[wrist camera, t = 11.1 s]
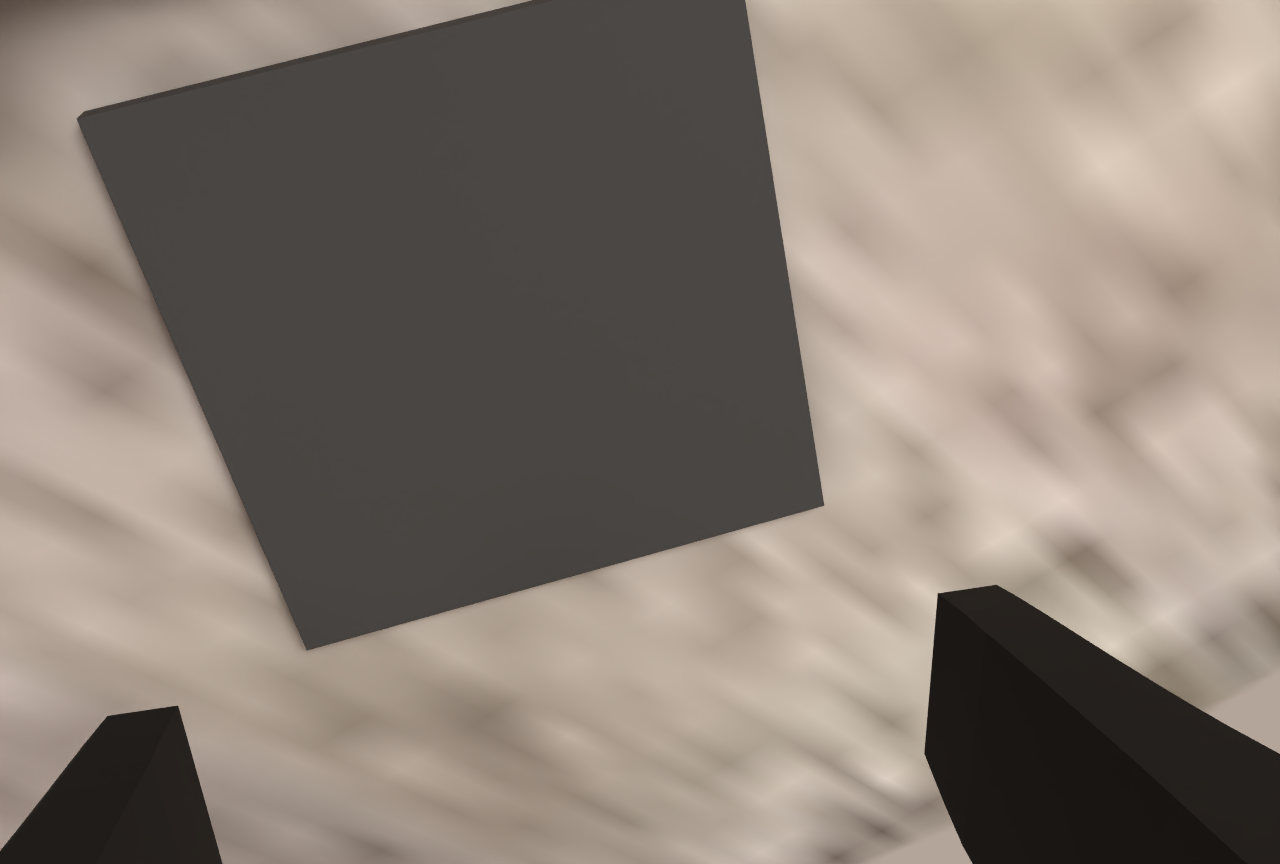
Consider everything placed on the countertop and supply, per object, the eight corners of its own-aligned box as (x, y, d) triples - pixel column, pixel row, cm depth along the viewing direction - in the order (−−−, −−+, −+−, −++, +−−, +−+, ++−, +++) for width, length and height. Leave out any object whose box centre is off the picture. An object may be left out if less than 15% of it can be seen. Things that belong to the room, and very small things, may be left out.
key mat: (309, 634, 23) (306, 650, 22) (84, 111, 18) (77, 118, 18) (816, 492, 23) (824, 505, 23) (729, -48, 19) (737, -45, 18)
